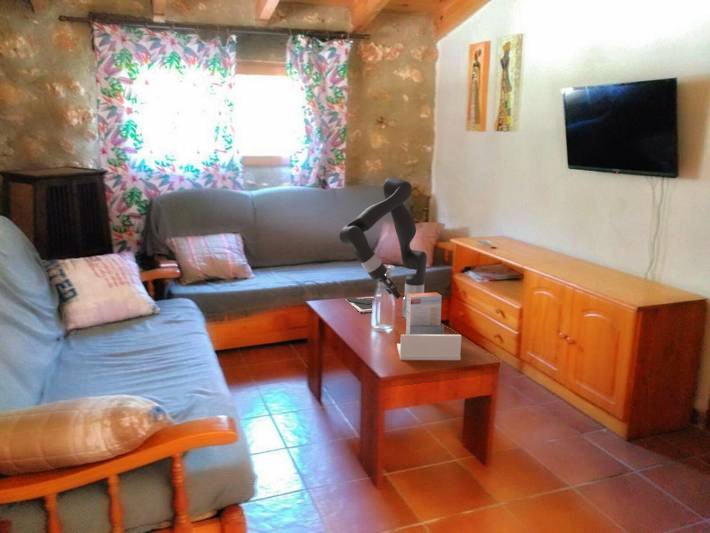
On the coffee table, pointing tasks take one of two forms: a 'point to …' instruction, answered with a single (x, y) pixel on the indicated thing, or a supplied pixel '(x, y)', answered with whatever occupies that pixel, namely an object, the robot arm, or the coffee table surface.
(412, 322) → the cracker box
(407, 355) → the book rack
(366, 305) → the picture frame
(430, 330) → the bookend
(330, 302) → the coffee table surface
